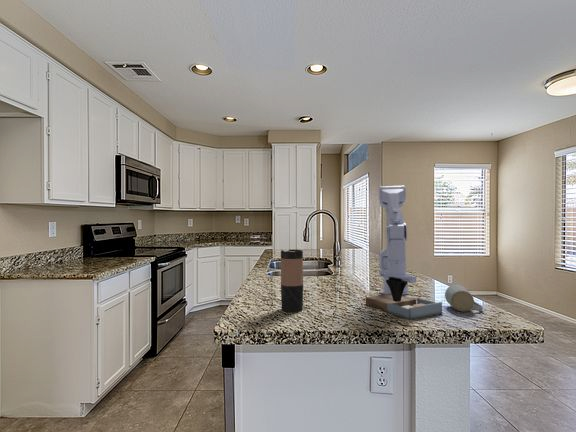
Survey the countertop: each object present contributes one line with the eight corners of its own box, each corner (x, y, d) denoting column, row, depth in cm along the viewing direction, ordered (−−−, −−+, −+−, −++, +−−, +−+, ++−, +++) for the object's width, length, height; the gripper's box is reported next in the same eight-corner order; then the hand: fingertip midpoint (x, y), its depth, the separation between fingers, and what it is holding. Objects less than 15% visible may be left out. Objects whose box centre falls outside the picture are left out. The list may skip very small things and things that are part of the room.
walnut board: (392, 299, 123) (392, 293, 123) (416, 306, 113) (416, 299, 113) (365, 304, 117) (365, 297, 117) (388, 311, 107) (388, 304, 107)
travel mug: (301, 313, 106) (301, 251, 106) (278, 312, 108) (278, 251, 108) (305, 307, 114) (304, 249, 114) (283, 306, 115) (283, 249, 115)
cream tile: (419, 308, 103) (419, 313, 103) (408, 305, 107) (408, 310, 107) (409, 310, 101) (409, 315, 101) (398, 306, 105) (398, 311, 105)
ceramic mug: (451, 312, 106) (451, 288, 106) (444, 305, 114) (444, 283, 114) (487, 314, 104) (487, 290, 104) (477, 307, 112) (477, 285, 112)
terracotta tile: (433, 306, 105) (433, 311, 105) (421, 303, 109) (421, 308, 109) (423, 308, 103) (423, 313, 103) (412, 305, 107) (412, 309, 107)
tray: (418, 306, 113) (418, 296, 113) (442, 313, 105) (441, 302, 105) (387, 312, 107) (387, 301, 107) (410, 319, 98) (410, 308, 98)
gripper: (372, 258, 113) (372, 297, 113) (404, 263, 100) (405, 307, 100) (387, 257, 117) (387, 295, 116) (420, 261, 104) (421, 304, 104)
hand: (397, 301), depth 109 cm, fingers closed
